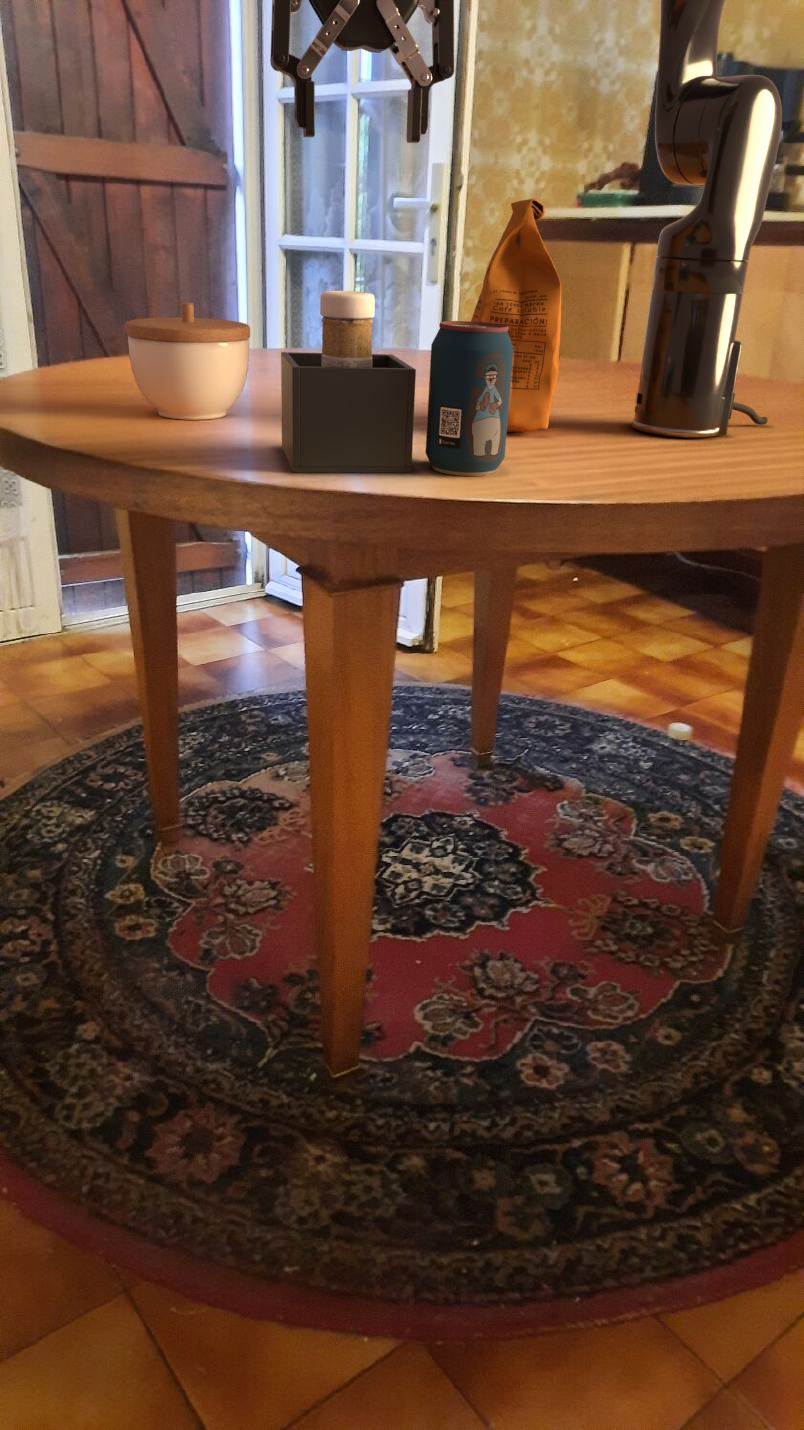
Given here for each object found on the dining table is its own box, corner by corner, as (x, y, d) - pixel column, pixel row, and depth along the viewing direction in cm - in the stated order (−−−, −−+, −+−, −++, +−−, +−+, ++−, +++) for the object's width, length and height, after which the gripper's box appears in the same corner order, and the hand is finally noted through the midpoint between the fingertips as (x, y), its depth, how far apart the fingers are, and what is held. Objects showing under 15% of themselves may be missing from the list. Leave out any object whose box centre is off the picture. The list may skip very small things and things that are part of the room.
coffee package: (546, 419, 115) (568, 202, 106) (554, 440, 104) (580, 199, 95) (458, 414, 116) (473, 198, 106) (457, 434, 105) (473, 194, 95)
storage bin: (389, 448, 97) (392, 354, 93) (411, 472, 88) (416, 369, 84) (281, 448, 95) (280, 352, 91) (293, 473, 86) (292, 367, 82)
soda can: (447, 457, 94) (456, 318, 89) (516, 468, 91) (529, 325, 86) (410, 469, 89) (417, 322, 83) (482, 481, 86) (493, 330, 80)
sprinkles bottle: (350, 447, 94) (353, 289, 88) (381, 456, 91) (386, 293, 85) (309, 452, 91) (309, 290, 85) (339, 461, 88) (342, 294, 82)
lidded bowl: (127, 405, 112) (119, 297, 108) (241, 404, 116) (238, 300, 111) (136, 425, 102) (128, 307, 97) (261, 424, 105) (259, 309, 101)
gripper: (272, -137, 70) (277, 132, 77) (471, -117, 73) (458, 141, 80) (263, -108, 77) (269, 138, 84) (446, -91, 80) (436, 146, 87)
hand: (361, 139), depth 82 cm, fingers open, 8 cm apart
